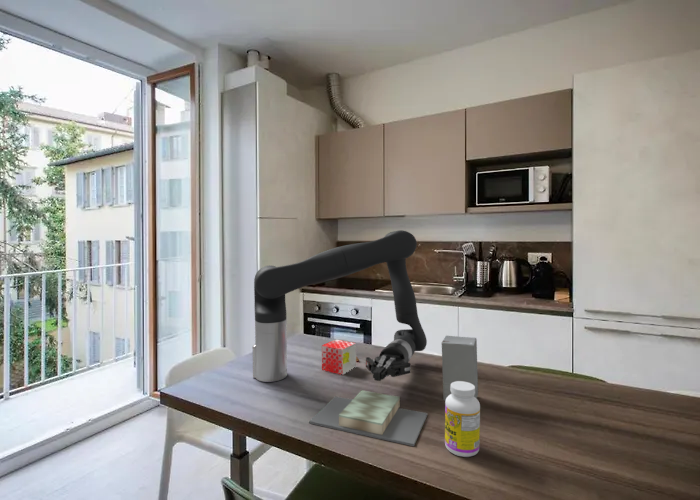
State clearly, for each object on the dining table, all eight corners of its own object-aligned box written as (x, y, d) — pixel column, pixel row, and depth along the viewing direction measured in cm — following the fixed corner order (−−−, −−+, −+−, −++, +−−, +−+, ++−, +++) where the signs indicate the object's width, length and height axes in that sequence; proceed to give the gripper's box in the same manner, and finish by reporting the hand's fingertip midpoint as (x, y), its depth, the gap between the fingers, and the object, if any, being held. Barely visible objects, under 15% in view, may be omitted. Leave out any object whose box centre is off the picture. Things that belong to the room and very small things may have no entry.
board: (361, 399, 96) (338, 425, 83) (361, 390, 95) (338, 414, 83) (399, 406, 92) (382, 434, 79) (399, 396, 92) (382, 423, 79)
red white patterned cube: (342, 375, 114) (342, 349, 113) (321, 370, 118) (321, 345, 117) (356, 367, 120) (356, 342, 120) (336, 362, 124) (335, 339, 124)
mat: (309, 423, 85) (309, 421, 85) (335, 398, 97) (335, 396, 97) (413, 446, 75) (413, 444, 75) (427, 415, 88) (427, 413, 88)
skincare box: (478, 396, 98) (478, 336, 98) (475, 407, 92) (476, 344, 91) (445, 390, 102) (446, 333, 101) (440, 401, 95) (441, 340, 95)
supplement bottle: (440, 440, 78) (440, 379, 77) (471, 438, 78) (471, 378, 78) (451, 459, 71) (452, 393, 70) (485, 457, 72) (486, 391, 71)
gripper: (374, 339, 109) (352, 358, 93) (419, 345, 104) (403, 365, 88) (374, 365, 110) (352, 387, 94) (419, 371, 105) (403, 396, 89)
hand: (377, 376), depth 91 cm, fingers closed
